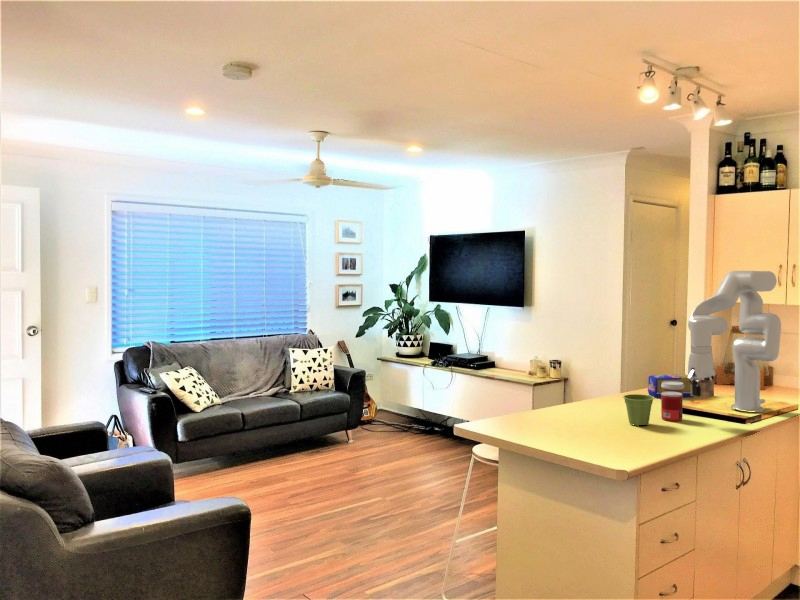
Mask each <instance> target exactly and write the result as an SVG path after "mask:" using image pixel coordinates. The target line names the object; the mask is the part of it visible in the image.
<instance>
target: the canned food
mask: <svg viewBox="0 0 800 600" xmlns="http://www.w3.org/2000/svg"><path fill="white" fill-rule="evenodd" d="M660 400H661V401H660V402H661V403H660V405H661V408H660V410H661V411H660V413H661V419H662V420H663V421H666V422H670V423H671V422H672V423H676V422H678V423H679V422H682V421H683V398H682V393H679V392H662V394H661V398H660Z"/></svg>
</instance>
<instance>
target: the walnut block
mask: <svg viewBox="0 0 800 600" xmlns="http://www.w3.org/2000/svg"><path fill="white" fill-rule="evenodd" d="M695 381H696V382H697V380H695ZM699 386H700V396H694V395H692V385H691V383H690V396H694V397H696V398H700V399H707V398H712V397H714V396H715V389H714V388H715V382H714V380H712V381H711V380H705V379H700V384H699ZM694 397H693V398H694Z"/></svg>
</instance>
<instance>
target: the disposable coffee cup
mask: <svg viewBox="0 0 800 600" xmlns="http://www.w3.org/2000/svg"><path fill="white" fill-rule="evenodd" d="M661 387H662V391H663V392H679V393H682V395H683V389H684V387H685V386H684V384H683V383H682V382H677V381H664V382H662V385H661Z"/></svg>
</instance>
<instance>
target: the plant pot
mask: <svg viewBox="0 0 800 600" xmlns="http://www.w3.org/2000/svg"><path fill="white" fill-rule="evenodd" d="M622 398H623V399H624V404H625V407H626V410H627V411H626V412H627V417H628V418H627V419H628V423H630V425H631V424H634V425H647V426H649V422H650V418H651V417H650V416H651V411H652V405H653V403H654V402H653V401H654V399H655V398H654V397H653V396H650V395H649V394H639V393H631V394H629V393H628V394H624V395H622Z"/></svg>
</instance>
